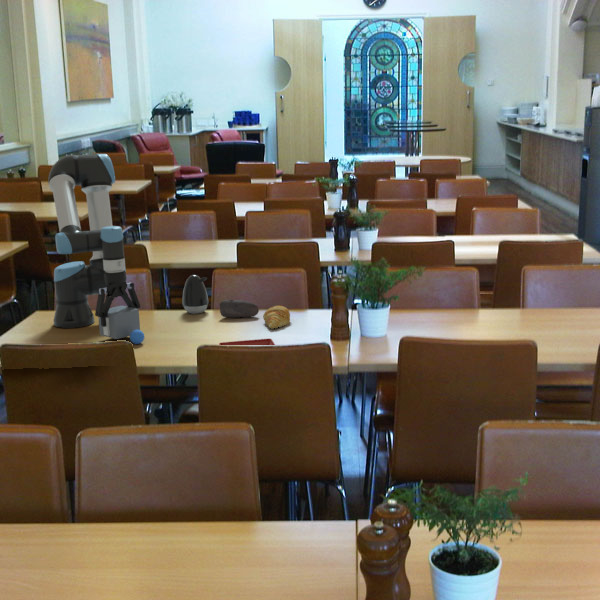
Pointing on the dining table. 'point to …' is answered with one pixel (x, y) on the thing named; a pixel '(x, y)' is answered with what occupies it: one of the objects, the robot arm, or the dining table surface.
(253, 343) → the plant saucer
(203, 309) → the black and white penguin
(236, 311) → the perforated stone tool
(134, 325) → the matte grey cube
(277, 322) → the croissant
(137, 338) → the ball
